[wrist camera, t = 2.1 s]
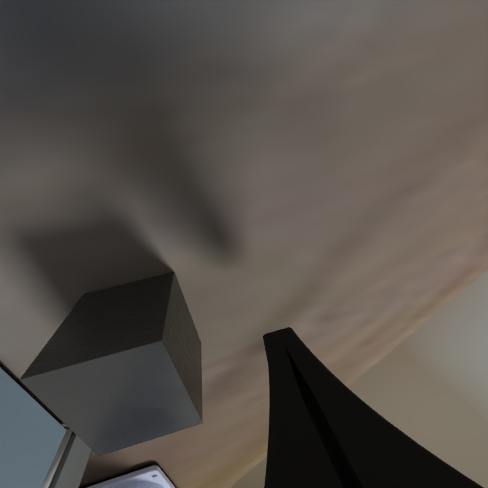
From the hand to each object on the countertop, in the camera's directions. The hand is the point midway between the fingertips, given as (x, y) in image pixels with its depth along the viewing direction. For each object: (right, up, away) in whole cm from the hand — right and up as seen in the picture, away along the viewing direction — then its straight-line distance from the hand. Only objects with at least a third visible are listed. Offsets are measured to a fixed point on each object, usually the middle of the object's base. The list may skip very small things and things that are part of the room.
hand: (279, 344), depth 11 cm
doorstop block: (-8, 0, +3) cm, 8 cm away
